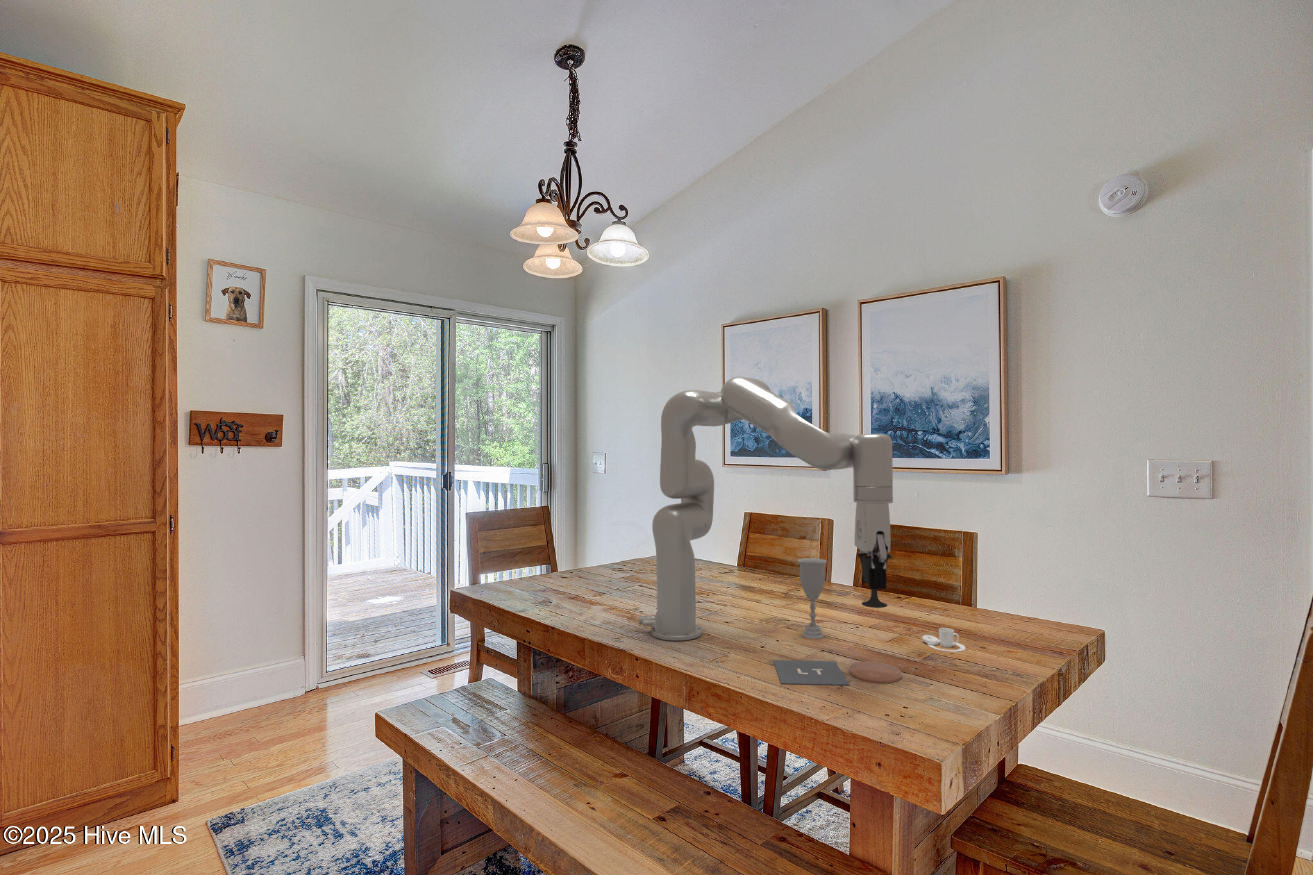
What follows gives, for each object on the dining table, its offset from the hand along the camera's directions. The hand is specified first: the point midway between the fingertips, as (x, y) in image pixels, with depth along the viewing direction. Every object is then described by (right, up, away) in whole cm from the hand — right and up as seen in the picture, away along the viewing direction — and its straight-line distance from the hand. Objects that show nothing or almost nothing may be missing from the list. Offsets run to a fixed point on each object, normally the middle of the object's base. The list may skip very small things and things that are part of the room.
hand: (873, 584), depth 128 cm
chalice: (-6, -18, +25) cm, 32 cm away
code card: (-13, -18, +1) cm, 22 cm away
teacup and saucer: (+23, -19, +20) cm, 36 cm away
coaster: (0, -18, 0) cm, 18 cm away
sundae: (0, -4, 0) cm, 4 cm away
